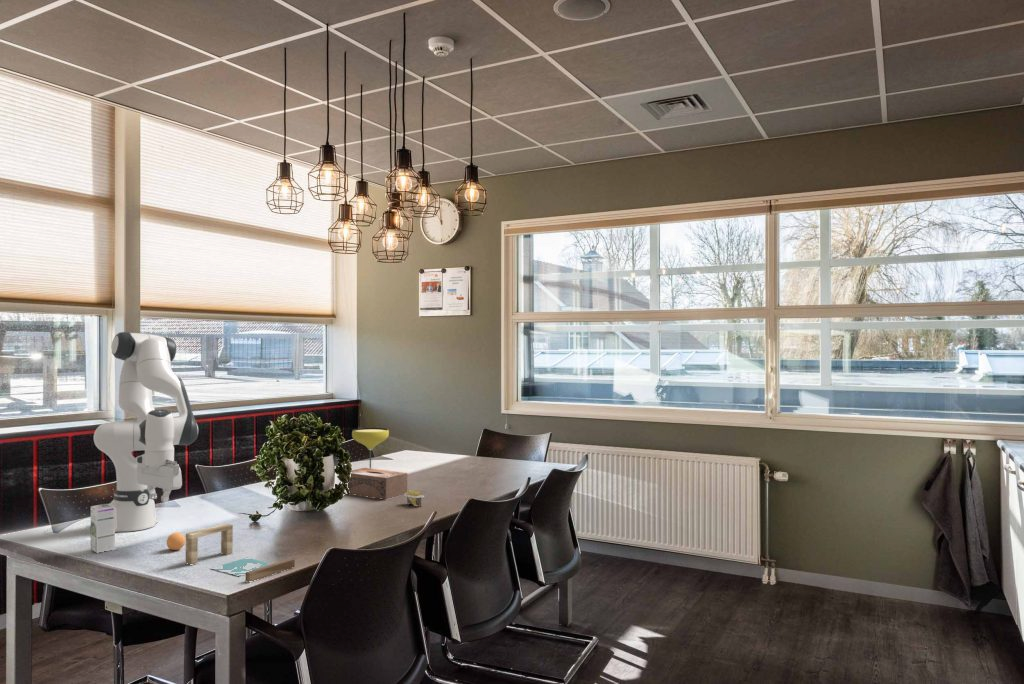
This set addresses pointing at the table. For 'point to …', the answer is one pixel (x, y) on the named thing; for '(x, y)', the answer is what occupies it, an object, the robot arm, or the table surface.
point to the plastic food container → (413, 497)
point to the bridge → (193, 536)
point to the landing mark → (242, 563)
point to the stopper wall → (270, 569)
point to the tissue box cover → (377, 483)
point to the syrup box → (102, 528)
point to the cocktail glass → (370, 437)
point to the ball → (175, 541)
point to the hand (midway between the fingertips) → (159, 500)
